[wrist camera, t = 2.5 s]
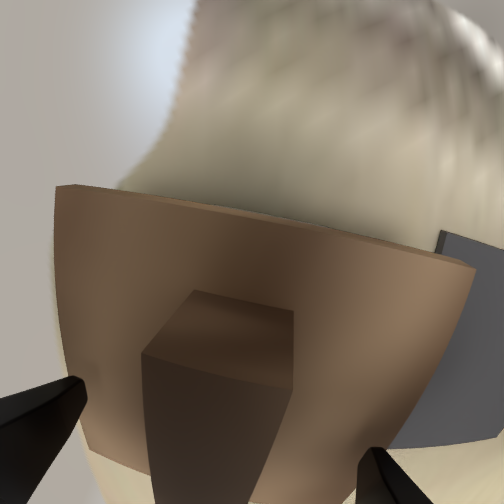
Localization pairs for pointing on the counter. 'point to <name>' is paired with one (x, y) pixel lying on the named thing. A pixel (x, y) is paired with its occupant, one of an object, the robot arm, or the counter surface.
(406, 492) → the robot arm
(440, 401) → the mat
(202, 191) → the counter surface
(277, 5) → the counter surface
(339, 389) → the cover
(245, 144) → the counter surface
